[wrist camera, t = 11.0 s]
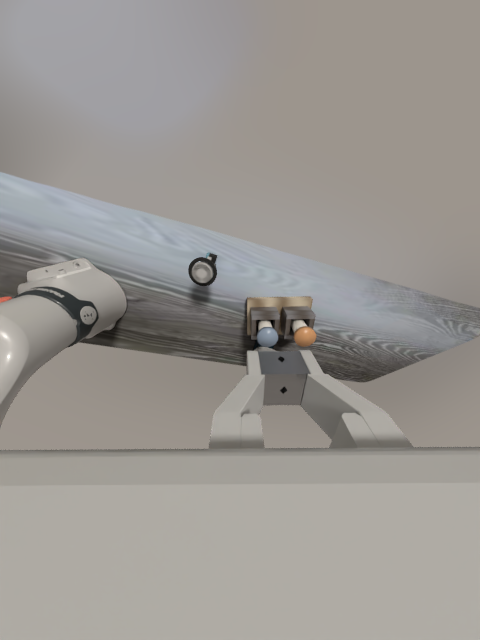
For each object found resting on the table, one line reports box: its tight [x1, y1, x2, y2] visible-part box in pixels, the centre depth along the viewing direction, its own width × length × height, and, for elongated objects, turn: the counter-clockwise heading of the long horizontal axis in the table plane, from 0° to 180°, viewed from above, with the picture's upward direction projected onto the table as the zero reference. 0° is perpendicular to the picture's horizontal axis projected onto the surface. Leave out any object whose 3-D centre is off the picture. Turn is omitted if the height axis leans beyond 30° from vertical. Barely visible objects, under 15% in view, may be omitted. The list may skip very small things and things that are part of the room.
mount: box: [247, 297, 315, 340], centre depth 46 cm, size 16×10×7 cm, turn 91°
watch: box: [253, 340, 275, 351], centre depth 48 cm, size 6×8×11 cm
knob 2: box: [290, 319, 316, 346], centre depth 43 cm, size 4×4×9 cm
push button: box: [189, 253, 217, 286], centre depth 38 cm, size 7×5×10 cm
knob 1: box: [257, 320, 278, 347], centre depth 43 cm, size 4×4×9 cm
